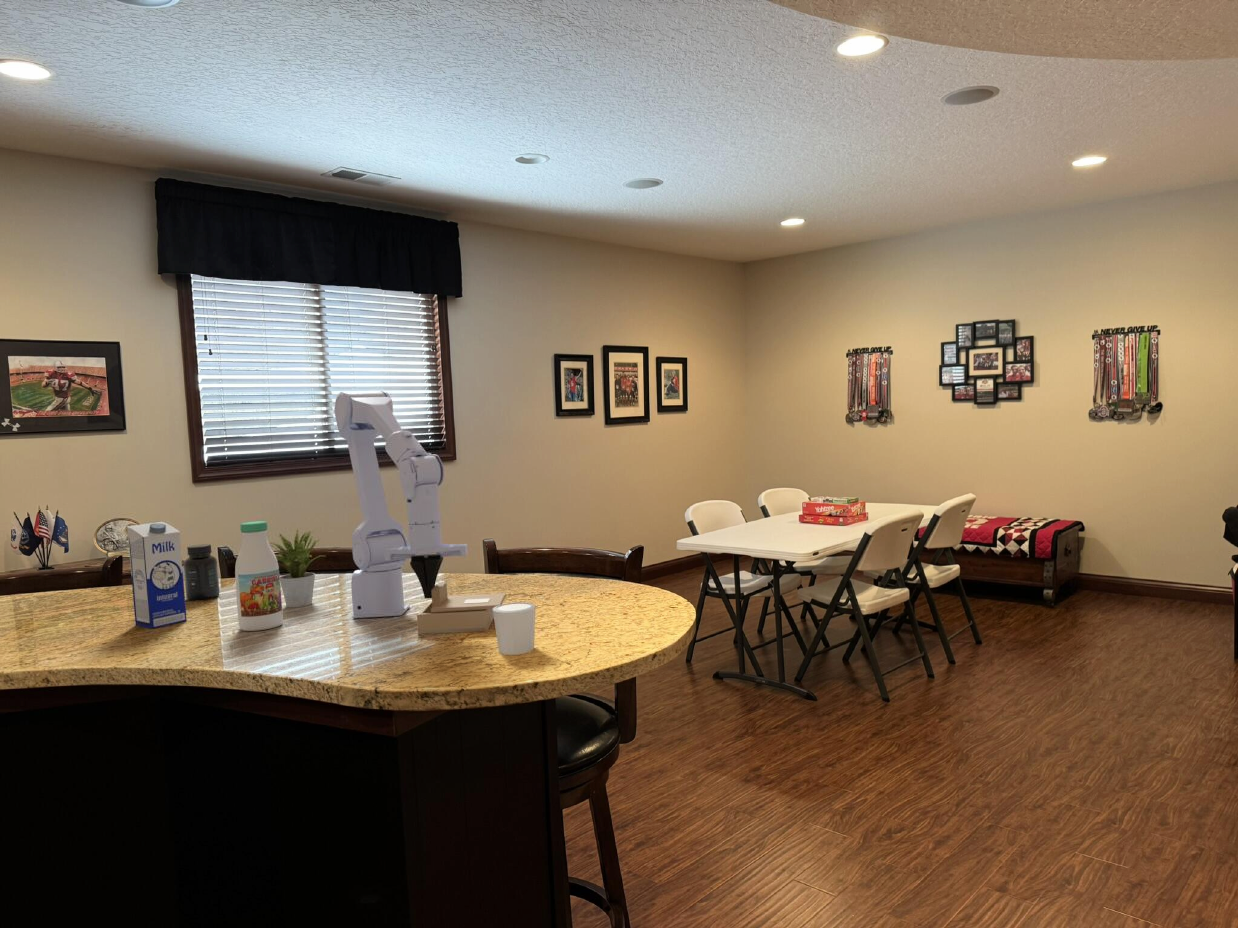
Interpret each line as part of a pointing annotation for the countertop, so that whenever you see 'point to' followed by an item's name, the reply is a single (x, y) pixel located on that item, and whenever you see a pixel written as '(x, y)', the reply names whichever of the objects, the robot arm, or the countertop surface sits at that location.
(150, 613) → the milk carton
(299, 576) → the house plant
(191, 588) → the supplement bottle
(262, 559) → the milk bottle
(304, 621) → the countertop surface
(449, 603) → the lid
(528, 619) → the white cup
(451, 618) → the mailer
